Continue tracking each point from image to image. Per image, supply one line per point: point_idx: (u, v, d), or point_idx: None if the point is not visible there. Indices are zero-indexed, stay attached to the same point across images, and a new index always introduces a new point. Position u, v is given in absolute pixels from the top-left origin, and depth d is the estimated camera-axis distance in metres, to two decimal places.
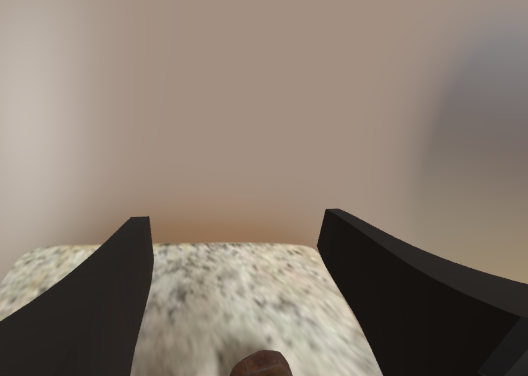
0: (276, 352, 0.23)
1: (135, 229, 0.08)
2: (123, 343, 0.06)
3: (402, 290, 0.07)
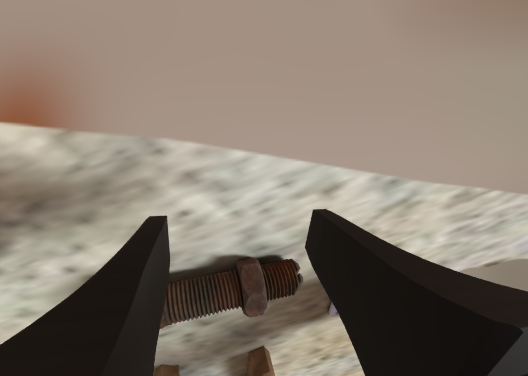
0: None
1: (156, 228, 0.08)
2: (149, 339, 0.07)
3: (384, 293, 0.07)
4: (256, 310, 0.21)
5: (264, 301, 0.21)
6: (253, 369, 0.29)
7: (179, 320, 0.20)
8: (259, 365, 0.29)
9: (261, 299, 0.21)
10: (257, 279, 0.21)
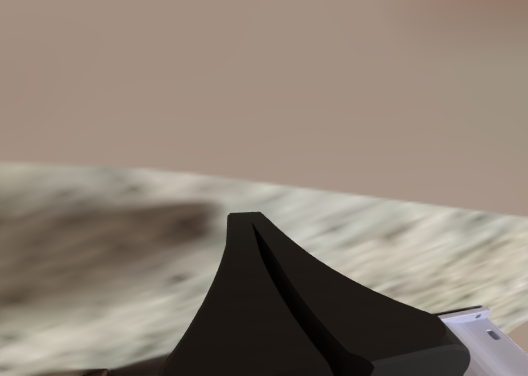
0: None
1: (245, 223, 0.09)
2: None
3: None
4: None
5: None
6: None
7: None
8: None
9: None
10: None
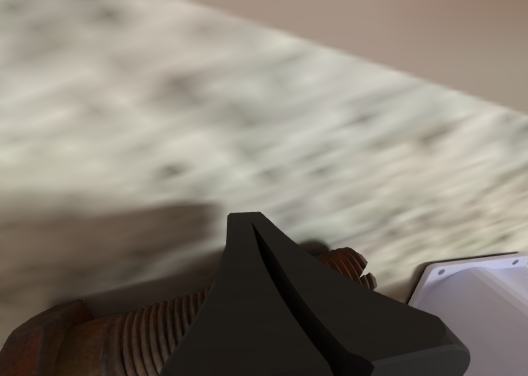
0: None
1: (245, 223, 0.09)
2: None
3: None
4: None
5: None
6: None
7: None
8: None
9: None
10: None
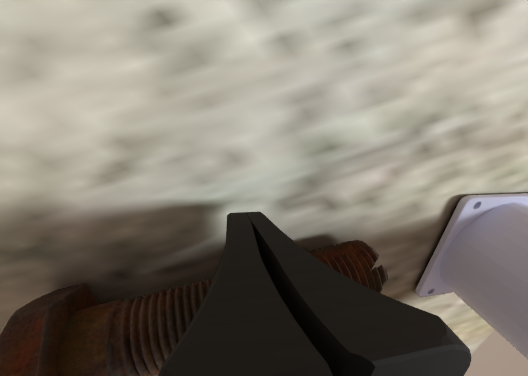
0: None
1: (245, 223, 0.09)
2: None
3: None
4: None
5: None
6: None
7: (157, 372, 0.10)
8: None
9: None
10: None
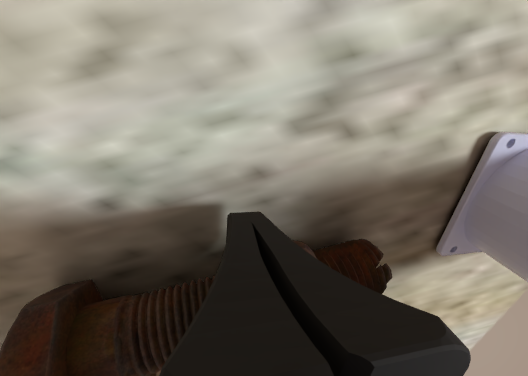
0: None
1: (245, 223, 0.09)
2: None
3: None
4: None
5: None
6: None
7: None
8: None
9: None
10: None
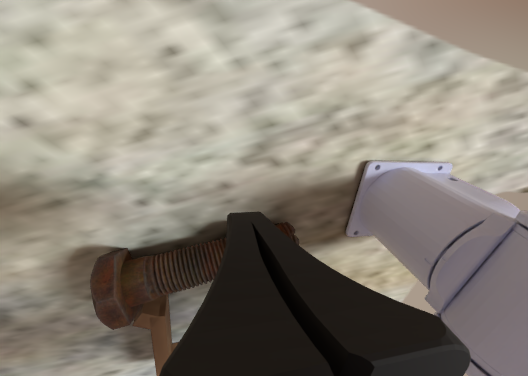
0: (97, 301, 0.17)
1: (245, 223, 0.09)
2: None
3: None
4: None
5: None
6: None
7: (169, 291, 0.19)
8: None
9: None
10: None
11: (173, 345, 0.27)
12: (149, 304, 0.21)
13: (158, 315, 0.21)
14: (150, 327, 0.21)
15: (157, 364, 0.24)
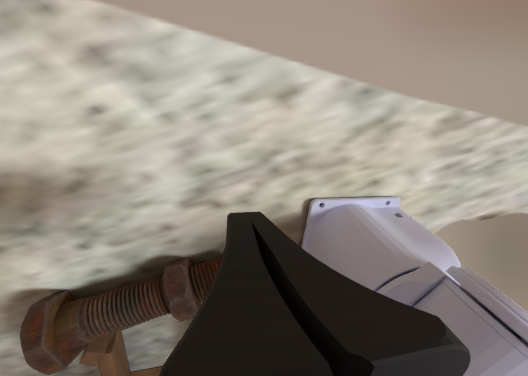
0: (25, 351, 0.17)
1: (245, 223, 0.09)
2: None
3: None
4: (185, 313, 0.20)
5: (190, 303, 0.20)
6: None
7: (105, 332, 0.19)
8: None
9: (186, 302, 0.19)
10: (180, 282, 0.20)
11: (131, 374, 0.27)
12: (97, 341, 0.22)
13: (105, 352, 0.22)
14: (97, 364, 0.22)
15: None
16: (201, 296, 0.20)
